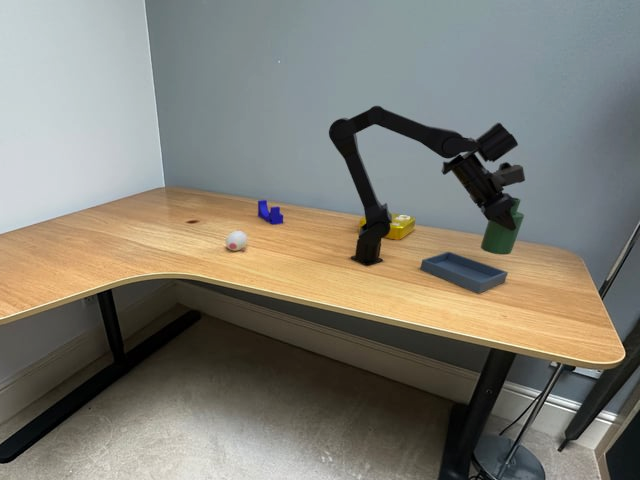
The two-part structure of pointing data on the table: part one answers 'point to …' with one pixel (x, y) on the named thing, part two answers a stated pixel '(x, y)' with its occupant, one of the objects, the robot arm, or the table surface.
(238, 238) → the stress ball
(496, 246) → the bottle
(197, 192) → the table surface
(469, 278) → the tray
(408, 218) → the element tile
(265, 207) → the cable clip
